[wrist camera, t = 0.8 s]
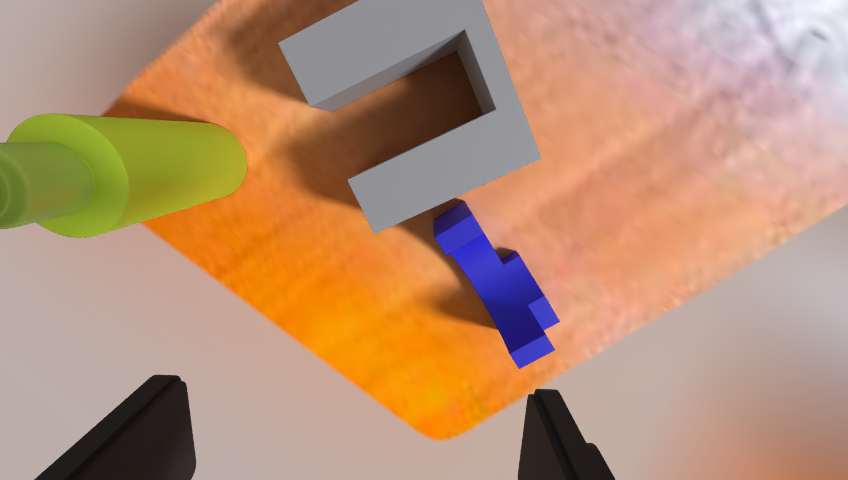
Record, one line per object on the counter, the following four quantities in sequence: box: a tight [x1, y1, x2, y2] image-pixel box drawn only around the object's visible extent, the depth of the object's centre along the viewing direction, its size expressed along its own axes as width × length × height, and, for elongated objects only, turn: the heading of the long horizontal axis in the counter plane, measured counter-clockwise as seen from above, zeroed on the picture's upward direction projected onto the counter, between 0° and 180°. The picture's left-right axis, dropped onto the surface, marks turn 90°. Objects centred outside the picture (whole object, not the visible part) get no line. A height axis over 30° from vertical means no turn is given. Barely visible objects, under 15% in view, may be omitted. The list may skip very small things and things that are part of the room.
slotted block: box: [278, 0, 541, 234], centre depth 27 cm, size 12×13×6 cm
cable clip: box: [433, 201, 560, 369], centre depth 31 cm, size 12×4×6 cm, turn 32°
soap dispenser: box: [0, 114, 247, 238], centre depth 22 cm, size 6×7×20 cm
